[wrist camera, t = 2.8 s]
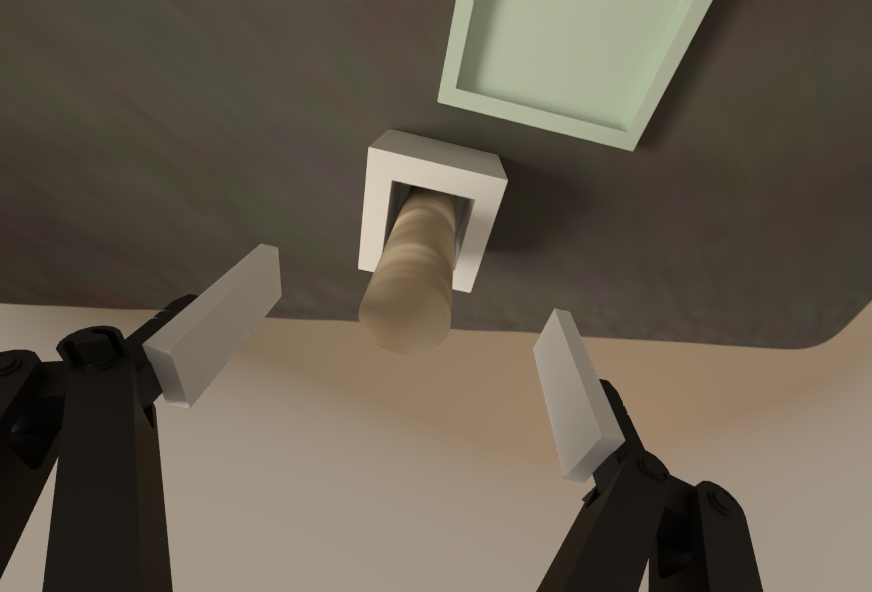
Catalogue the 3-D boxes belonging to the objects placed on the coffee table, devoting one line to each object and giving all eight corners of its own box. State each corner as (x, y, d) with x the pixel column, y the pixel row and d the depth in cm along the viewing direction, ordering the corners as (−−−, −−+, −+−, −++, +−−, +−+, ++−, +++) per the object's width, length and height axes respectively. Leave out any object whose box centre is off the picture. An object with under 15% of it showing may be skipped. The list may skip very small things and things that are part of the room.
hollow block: (377, 230, 30) (358, 268, 24) (389, 128, 25) (368, 146, 20) (468, 250, 31) (470, 292, 25) (497, 155, 26) (508, 180, 20)
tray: (439, 99, 24) (437, 101, 22) (488, -165, 17) (492, -193, 15) (620, 144, 25) (632, 151, 23) (735, -87, 18) (767, -105, 16)
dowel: (405, 215, 28) (355, 344, 15) (413, 168, 26) (362, 272, 13) (450, 226, 29) (439, 361, 16) (461, 180, 26) (460, 293, 13)
